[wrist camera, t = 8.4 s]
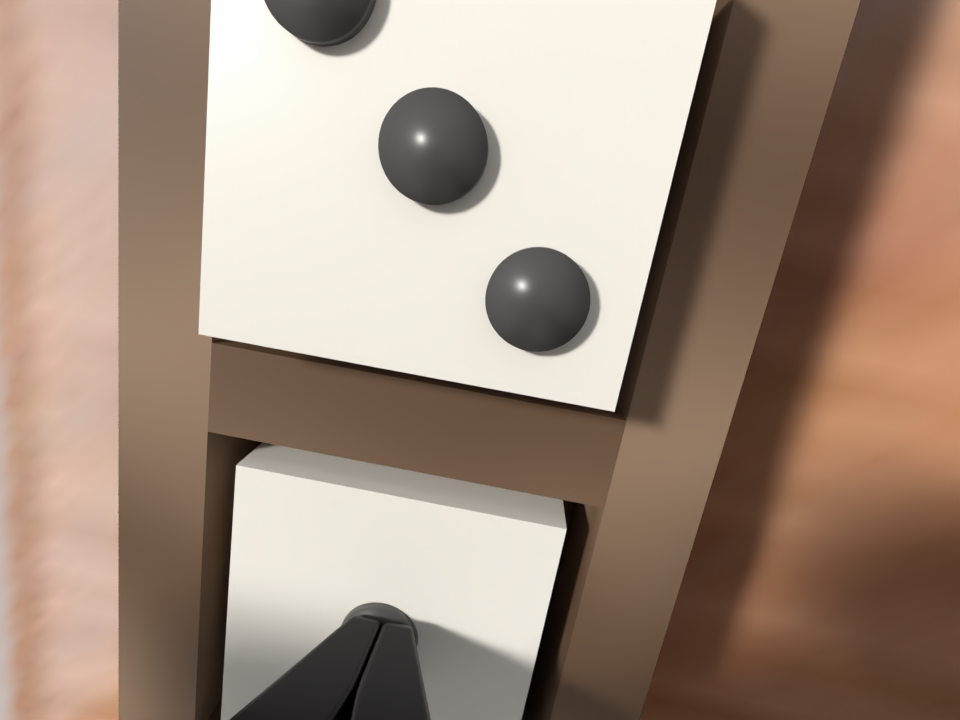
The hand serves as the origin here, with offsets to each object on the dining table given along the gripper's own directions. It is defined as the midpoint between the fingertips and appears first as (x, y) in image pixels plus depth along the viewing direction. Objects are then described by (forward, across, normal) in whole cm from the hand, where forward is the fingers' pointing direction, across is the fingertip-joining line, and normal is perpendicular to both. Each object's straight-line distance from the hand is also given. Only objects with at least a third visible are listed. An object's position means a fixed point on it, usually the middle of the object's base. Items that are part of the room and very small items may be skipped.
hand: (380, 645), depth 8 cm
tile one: (+2, 0, 0) cm, 2 cm away
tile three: (+1, 0, -6) cm, 6 cm away
